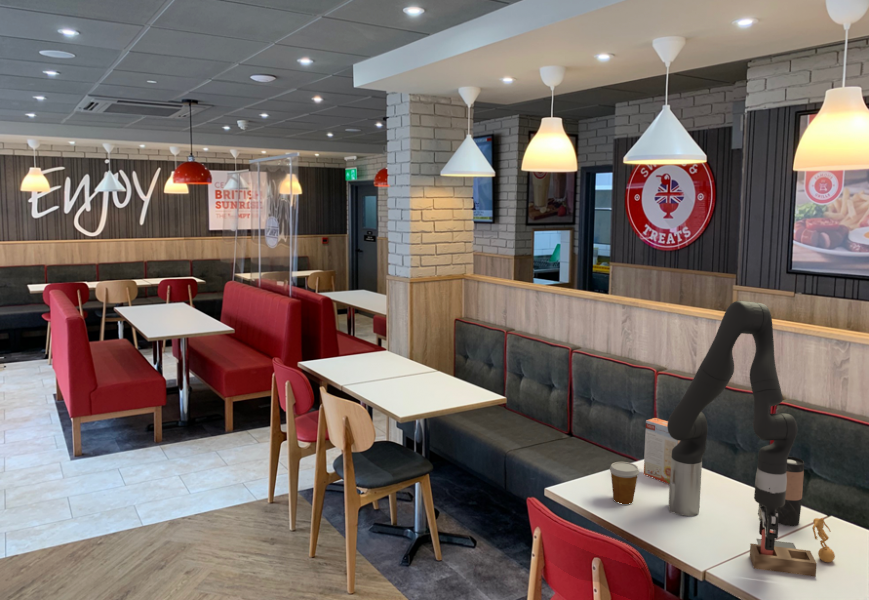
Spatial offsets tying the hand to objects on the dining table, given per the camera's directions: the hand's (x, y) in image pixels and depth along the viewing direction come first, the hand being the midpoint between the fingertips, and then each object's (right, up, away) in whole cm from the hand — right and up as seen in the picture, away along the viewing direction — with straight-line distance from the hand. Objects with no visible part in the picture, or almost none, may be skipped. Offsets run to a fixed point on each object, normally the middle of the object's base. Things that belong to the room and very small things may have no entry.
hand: (766, 542), depth 187 cm
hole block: (+4, -7, 0) cm, 8 cm away
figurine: (+17, -6, +3) cm, 19 cm away
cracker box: (-8, +1, +60) cm, 60 cm away
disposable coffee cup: (-28, -1, +42) cm, 50 cm away
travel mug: (+19, -3, +26) cm, 33 cm away
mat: (+8, -5, +10) cm, 14 cm away
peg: (0, -7, +1) cm, 7 cm away
